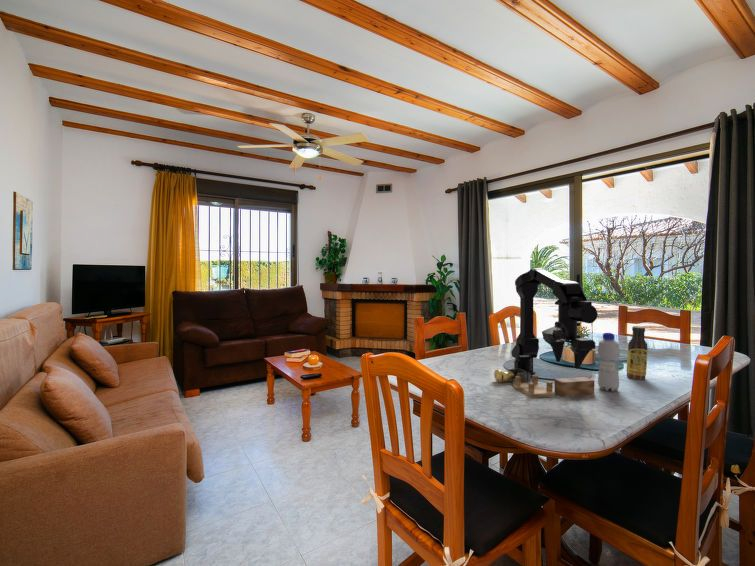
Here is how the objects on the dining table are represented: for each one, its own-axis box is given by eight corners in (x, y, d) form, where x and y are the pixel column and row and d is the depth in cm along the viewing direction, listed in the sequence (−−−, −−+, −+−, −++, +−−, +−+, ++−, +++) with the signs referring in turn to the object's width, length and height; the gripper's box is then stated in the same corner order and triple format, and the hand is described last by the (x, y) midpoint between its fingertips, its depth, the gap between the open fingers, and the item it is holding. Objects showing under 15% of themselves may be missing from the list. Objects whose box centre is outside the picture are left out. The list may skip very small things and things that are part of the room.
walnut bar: (585, 391, 128) (585, 377, 128) (594, 395, 124) (594, 380, 124) (554, 393, 126) (554, 379, 126) (562, 397, 122) (562, 382, 122)
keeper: (518, 377, 144) (518, 367, 144) (530, 383, 137) (530, 373, 137) (507, 378, 143) (507, 368, 143) (518, 384, 136) (518, 374, 136)
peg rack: (513, 386, 133) (513, 375, 133) (533, 385, 135) (533, 373, 134) (533, 397, 121) (533, 385, 121) (554, 396, 123) (555, 383, 123)
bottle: (595, 389, 129) (595, 333, 128) (599, 385, 134) (600, 330, 133) (617, 393, 124) (618, 335, 124) (621, 389, 129) (622, 332, 128)
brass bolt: (508, 379, 142) (508, 367, 142) (515, 382, 137) (515, 370, 137) (494, 380, 141) (494, 368, 141) (500, 383, 136) (500, 371, 136)
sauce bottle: (628, 379, 140) (629, 327, 139) (624, 375, 146) (625, 325, 145) (649, 381, 138) (650, 328, 137) (644, 376, 143) (645, 326, 143)
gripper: (529, 316, 132) (529, 359, 132) (565, 324, 113) (565, 374, 114) (557, 315, 134) (557, 358, 134) (597, 322, 115) (596, 371, 116)
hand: (567, 364), depth 125 cm, fingers open, 9 cm apart
